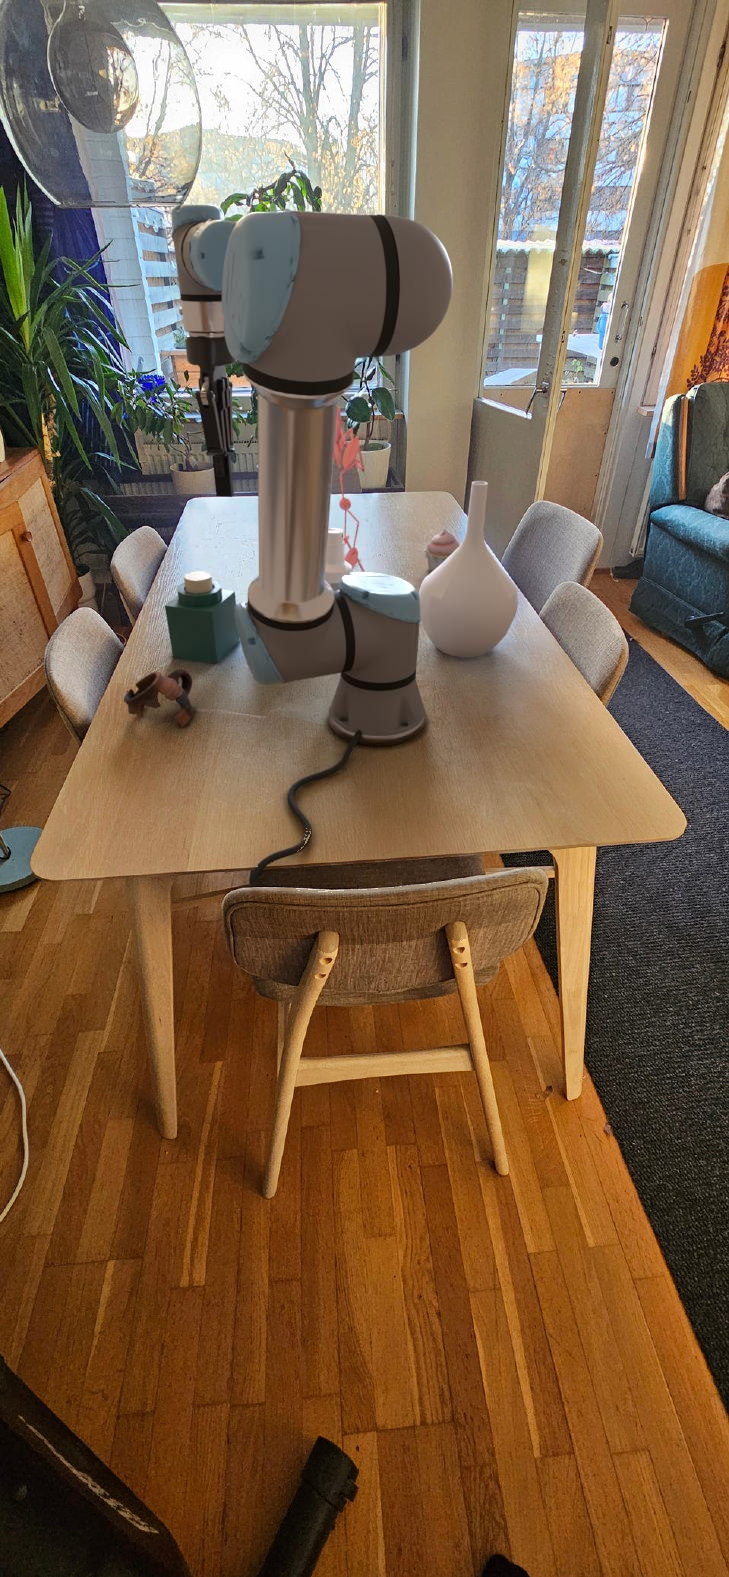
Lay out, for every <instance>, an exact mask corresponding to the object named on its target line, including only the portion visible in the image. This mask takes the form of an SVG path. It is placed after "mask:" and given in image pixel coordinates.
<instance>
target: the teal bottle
mask: <svg viewBox="0 0 729 1577" xmlns="http://www.w3.org/2000/svg"><path fill="white" fill-rule="evenodd" d="M212 585H213V590H212V591H209V592H205V593H188V592H186V588H185V582H182V583H181V584H179V585H178V586H177V587H176V591H177V595H176V596H175V597H173V599H172V600H170V601H169V602H168V603H166V604H165V605H164V610H165V616H166V621H167V627H168V634H169V640H170V647H171V654H172V657H173V658H178V659H184V660H191V661H198V662H204V663H212V664H219V663H220V662H221V661H222V660H223V659H224V658H225V657H226V656H227V655H228V653H230V652H231V651H232V649H234V647H235V646H236V645H238V643H239V642H240V638H239V634H238V630H237V626H236V621H235V615H234V609H235V606H236V605H237V600H236V591H235V590H228V589H227V590H226V589H222V585H221V583H220V582H217V581H214V580H212Z"/></svg>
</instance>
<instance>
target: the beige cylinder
mask: <svg viewBox="0 0 729 1577" xmlns="http://www.w3.org/2000/svg"><path fill="white" fill-rule="evenodd" d="M183 581H184V583H185V588H186V592H188V593H205V592H209V591H212V590H213V585H212V581H213V577H212V574H211V572H208V571H204V570H195V571H190V572H187V573H186V574H184V575H183Z"/></svg>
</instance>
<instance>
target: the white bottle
mask: <svg viewBox="0 0 729 1577" xmlns="http://www.w3.org/2000/svg"><path fill="white" fill-rule="evenodd" d="M345 557H346V553H345V546H344V530H343V529H342V528H339V527H328V541H327V554H326V568H325V581H326V582H327V583H328V584H329V585H330V586H331V588H332V589H333V591H336V590H339V583H340V580H341V578H342V577H343V576H345V575H348V574H349V573H353V569H352V566H351V565H350V564H349V563H348V562H346V561H345Z"/></svg>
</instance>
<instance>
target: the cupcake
mask: <svg viewBox="0 0 729 1577" xmlns="http://www.w3.org/2000/svg"><path fill="white" fill-rule="evenodd" d="M459 546H460V543H459V541H458V540H457V539H456V537H455V535H454V534H453V533H452V532H451V531H449V530H446V529H443V530H442V531H441V532H440V533H438V534H435V535H434V536H433V537H432V539H430V541H429V542H428V543H427V545H426V548H425V549H423V552H424V555H425V558H426V560H427V561H426V562H427V567H428V571H429V574H430V573H431V572H433V571H434V570H435V569H436V568H437V567H438V566H440V565H441V564H442V563H443V562H444V561H445V560H446V559H447V558H448V557H449V556H450V555H451V554H452V553H453V552H454V551H455V550H456V549H457V548H458V547H459Z"/></svg>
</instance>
